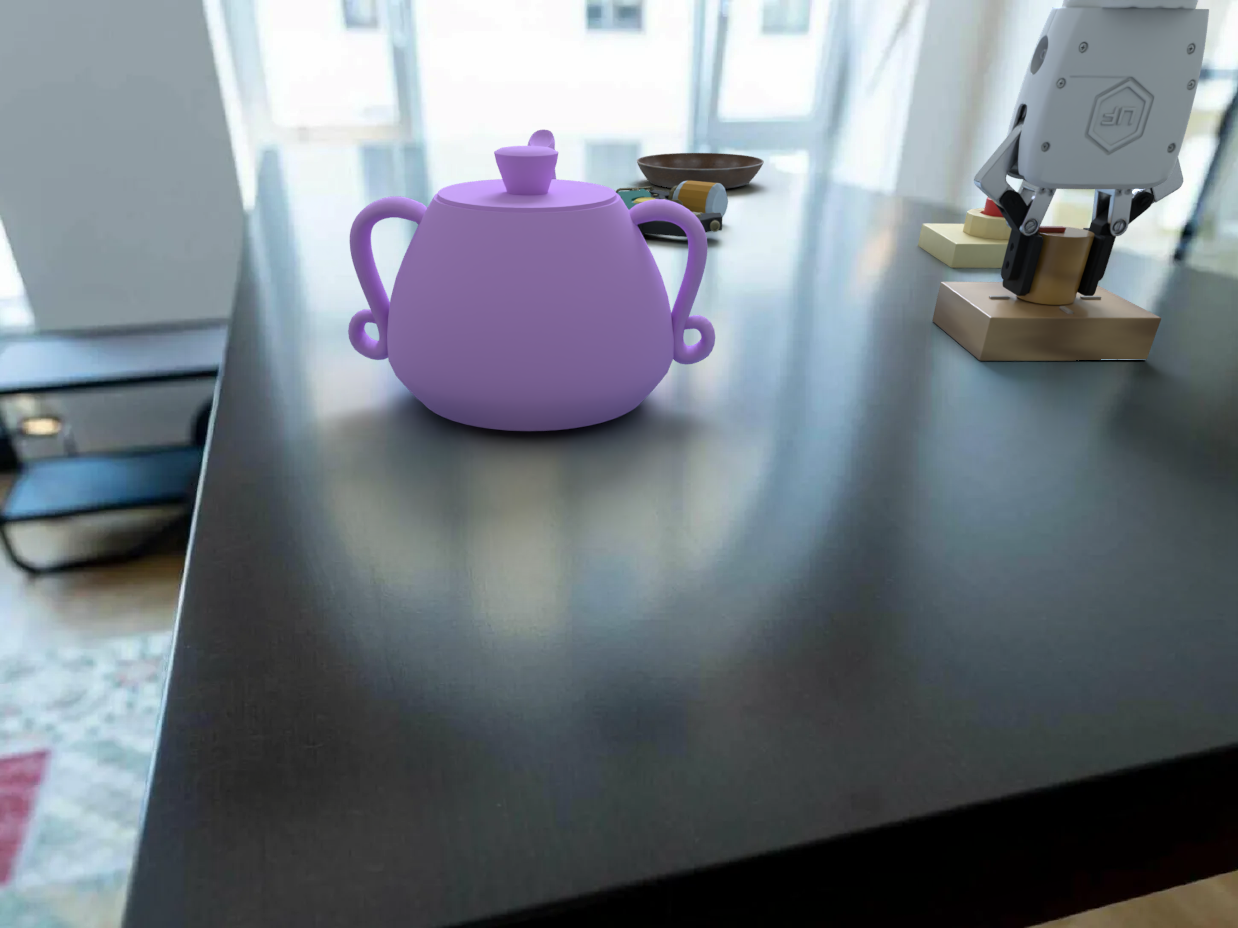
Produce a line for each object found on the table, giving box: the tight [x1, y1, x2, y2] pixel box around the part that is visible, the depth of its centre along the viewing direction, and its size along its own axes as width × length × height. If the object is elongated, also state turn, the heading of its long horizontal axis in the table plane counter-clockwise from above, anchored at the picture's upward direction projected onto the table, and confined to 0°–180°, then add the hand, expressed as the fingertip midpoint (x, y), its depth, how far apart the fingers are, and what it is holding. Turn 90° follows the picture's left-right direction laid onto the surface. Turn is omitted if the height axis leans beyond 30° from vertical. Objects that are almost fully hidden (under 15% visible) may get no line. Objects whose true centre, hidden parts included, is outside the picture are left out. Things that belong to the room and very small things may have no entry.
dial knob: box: [1016, 225, 1095, 305], centre depth 65 cm, size 4×4×5 cm
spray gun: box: [615, 181, 729, 238], centre depth 100 cm, size 4×17×15 cm
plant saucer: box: [636, 152, 765, 190], centre depth 127 cm, size 18×18×3 cm
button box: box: [917, 207, 1011, 269], centre depth 90 cm, size 12×10×4 cm
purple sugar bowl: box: [347, 129, 716, 432], centre depth 54 cm, size 22×22×14 cm
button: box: [983, 196, 1003, 217], centre depth 88 cm, size 4×4×2 cm
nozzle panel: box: [931, 281, 1162, 362], centre depth 67 cm, size 12×10×3 cm
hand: (1047, 288), depth 66 cm, fingers closed on dial knob, 4 cm apart
